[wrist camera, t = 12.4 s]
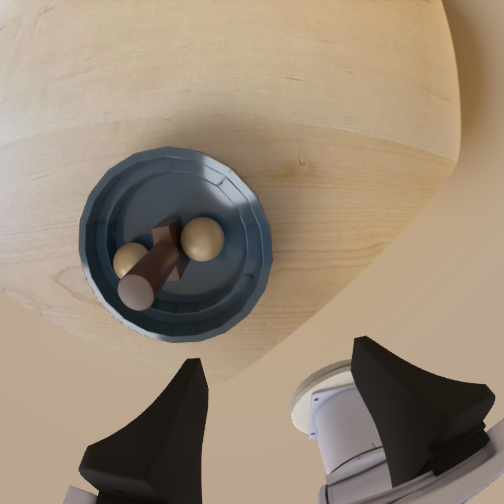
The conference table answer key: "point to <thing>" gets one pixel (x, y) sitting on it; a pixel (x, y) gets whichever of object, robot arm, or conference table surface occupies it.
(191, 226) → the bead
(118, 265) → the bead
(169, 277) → the stir paddle
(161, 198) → the bowl
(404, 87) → the conference table surface
